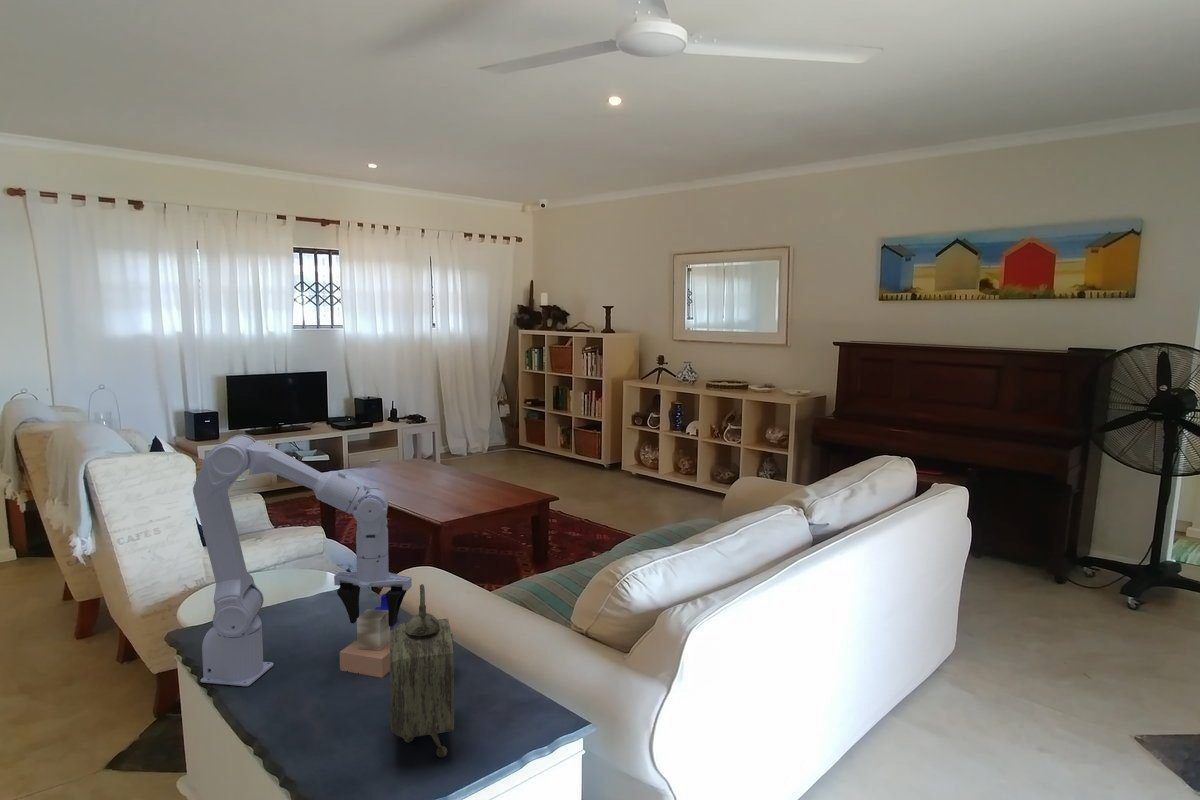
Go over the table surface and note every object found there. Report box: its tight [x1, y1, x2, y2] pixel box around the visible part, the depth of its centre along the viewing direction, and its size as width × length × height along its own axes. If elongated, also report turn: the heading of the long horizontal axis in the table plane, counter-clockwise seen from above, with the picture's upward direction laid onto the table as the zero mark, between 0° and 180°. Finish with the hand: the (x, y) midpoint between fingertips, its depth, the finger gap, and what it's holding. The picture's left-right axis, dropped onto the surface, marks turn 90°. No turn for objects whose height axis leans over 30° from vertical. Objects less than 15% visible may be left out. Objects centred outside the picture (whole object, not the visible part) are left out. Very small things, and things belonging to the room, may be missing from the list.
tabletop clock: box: [389, 584, 455, 759], centre depth 107 cm, size 14×9×25 cm, turn 17°
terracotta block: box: [339, 639, 390, 679], centre depth 132 cm, size 9×9×4 cm
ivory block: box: [356, 608, 391, 651], centre depth 131 cm, size 4×4×6 cm
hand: (373, 622), depth 131 cm, fingers open, 7 cm apart
